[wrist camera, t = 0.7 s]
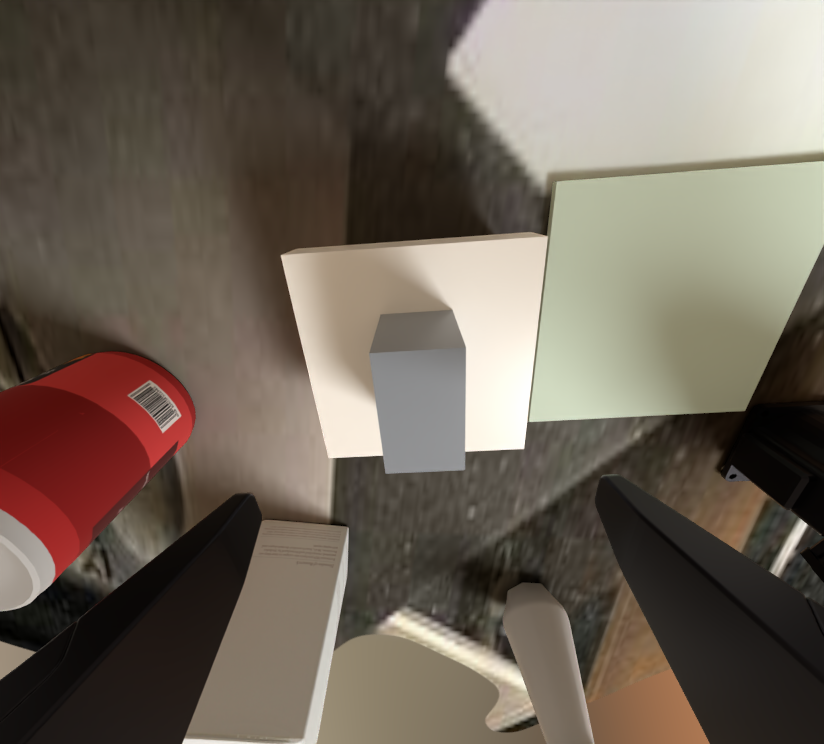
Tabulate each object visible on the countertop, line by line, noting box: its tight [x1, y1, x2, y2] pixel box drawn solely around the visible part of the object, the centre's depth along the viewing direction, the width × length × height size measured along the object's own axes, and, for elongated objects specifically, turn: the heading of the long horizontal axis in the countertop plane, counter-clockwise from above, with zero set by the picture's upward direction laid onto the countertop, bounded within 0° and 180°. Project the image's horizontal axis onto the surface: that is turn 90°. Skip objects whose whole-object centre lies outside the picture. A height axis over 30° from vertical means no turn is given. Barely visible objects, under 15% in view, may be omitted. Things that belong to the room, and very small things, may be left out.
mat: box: [527, 161, 824, 422], centre depth 19 cm, size 14×14×1 cm
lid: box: [281, 232, 548, 474], centre depth 14 cm, size 10×10×6 cm
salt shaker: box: [503, 583, 594, 744], centre depth 26 cm, size 6×6×13 cm
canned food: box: [0, 351, 196, 611], centre depth 17 cm, size 8×8×11 cm
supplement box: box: [182, 520, 349, 744], centre depth 24 cm, size 7×7×13 cm
